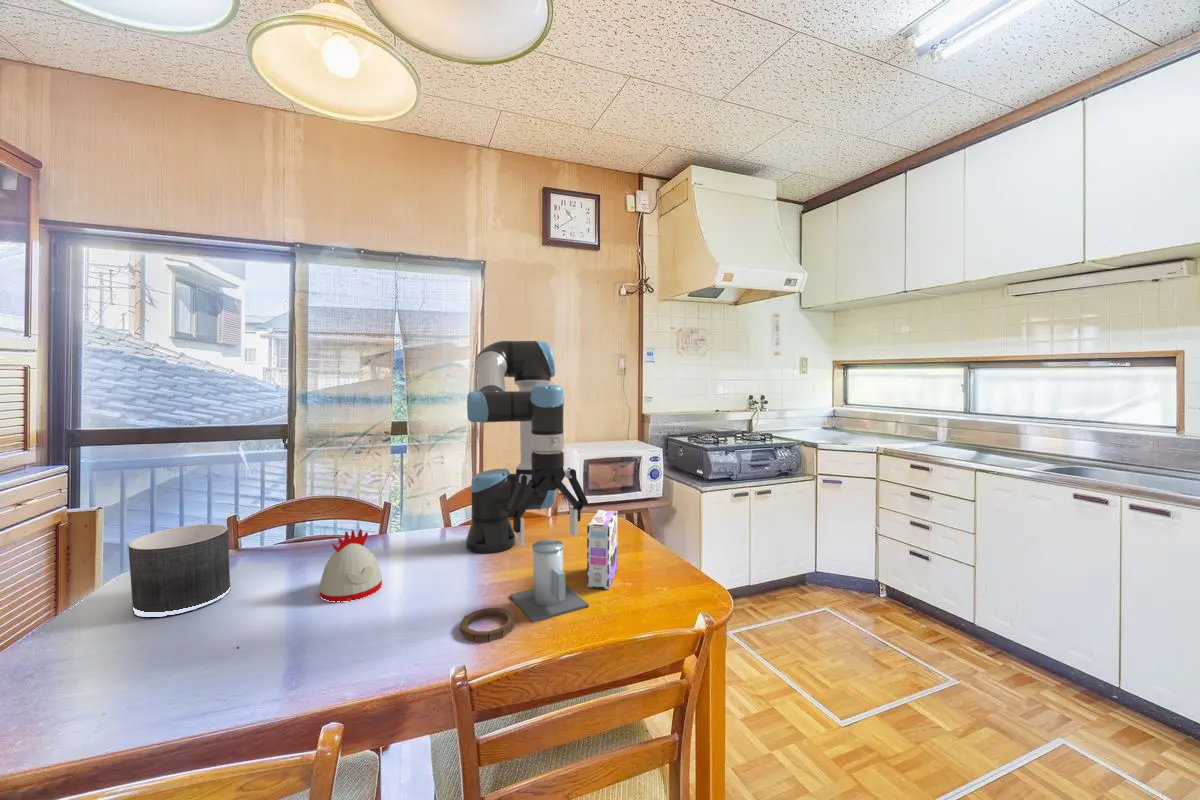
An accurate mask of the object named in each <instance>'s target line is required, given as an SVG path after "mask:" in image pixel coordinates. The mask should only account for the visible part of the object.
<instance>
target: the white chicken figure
mask: <svg viewBox="0 0 1200 800" xmlns="http://www.w3.org/2000/svg"><path fill="white" fill-rule="evenodd" d="M368 535H369V533H368V532H367V531H366V532H365V534H364V535H363V530H362V529H361V528H360V529H359V530H358V533H357V537H356V534H355V531H354V530H353V529H351V534H350V535H349V533H348V532H347V531H345V532H344V539H342V538H341V537H338V541H339V546H337V545H336V544H334V543H332V544H331V545H332V546H333V549H334V550H335V551H334V552H333V554H332V555H331V556H330V557H329V559H328V560H327V562H326V564H325V566H324V569H323V572H322V576H321V577H320V581H319V583H320V584H319V597H320V596H321V597H322V598H323V599H326V600H329V601H335V602H337V601H340V603H342V602H341V601H349V602H352V601H351V600H355V601H357V600H356V599H358V600H361V599H360V598H362V599H364V598H363V597H365V598H367V597H369V596H368V595H370V596H371V594H372V595H374V594H375V593H377V592H378V591H379V590H380V589H381V588H382V586H381V585H383V579H382V578H383V577H382V573H381V570H380V567H379V565H378V562H377V559H376V555H375V554H374V553H373V552H371V551H370V550H369V549H368V548H367V547H366V546H364V545H365V543H366V540H367V538H368ZM376 591H377V592H376ZM373 593H374V594H373ZM366 596H367V597H366Z"/></svg>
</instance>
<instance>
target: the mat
mask: <svg viewBox="0 0 1200 800" xmlns="http://www.w3.org/2000/svg"><path fill="white" fill-rule="evenodd" d="M509 595H510V596H509V597H510V599H512V601H513V602H514V603H515V604H516V605H517V606H518V607H519V609H520V610H521V611H522V612H523V613H524V615H525V616H526V617H527V618H528V619H529V620H530V621H531V623H535V622H539V621H542V620H546V619H550V618H553V617H557V616H560V615H564V614H567V613H571V612H575V611H579V610H582V609H585V608H589V605H590V604H589V603H588V602H587V601H586V600H584V599H583V598H582V597H581V596H580V595H579V594H577V593H576V592H575V591H574V590H573V589H572V588H570V587H569V586H568V585H567V584H566V583H565V600H563V601H562V602H561V603H559V604H556V605H552V606H541V605H538V604H536V603H535V602H534V588H530V589H526V590H523V591H519V592H515V593H510V594H509Z"/></svg>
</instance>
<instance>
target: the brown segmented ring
mask: <svg viewBox="0 0 1200 800" xmlns="http://www.w3.org/2000/svg"><path fill="white" fill-rule="evenodd" d="M485 618H498V619H502V620H505V621H506V623H505V624H504V625H502V626H499V628H495V629H491V630H486V631H485V630H482V631H481V630H479V631H478V630H475V629H472V628H470V627H469V625H470V624H472V623H473V622H475V621H477V620H480V619H481V620H482V619H485ZM515 624H516V623H515V615H513V613H512V611H510V610H507V609H504V608H502V607H485V608H481V609H476V610H473V611H472V612H470V613H468V614H466V615H465V616H464V617H463V618H462V620H461V621H460V622H459V631H460V634H461V636H462V637H463V638H464V639H467V640H469V641H471V642H475V643H476V642H477V643H479V642H480V643H481V642H482V643H483V642H484V643H485V642H486V643H487V642H492V641H496V640H499V639H503V638H504V637H506V636H507V635H509V634H511V632H513V630H514V626H515Z"/></svg>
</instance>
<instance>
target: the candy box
mask: <svg viewBox="0 0 1200 800" xmlns="http://www.w3.org/2000/svg"><path fill="white" fill-rule="evenodd" d="M586 525H587V527H586V528H587V529H586V532H587V536H586V544H587V545H586V550H587V551H586V553H587V554H586V564H587V565H586V567H587V568H586V570H587V571H586V584H587V585H586V587H587V588H591V589H592V588H593V589H602V590H609V589H610V588H611V585H612V582H613V581H614V578H615V575H616V572H617V570H618V569H619V568H618V564H619V563H618V560H619V559H618V557H619V556H618V553H619V552H618V547H619V546H618V539H619V538H618V537H619V536H618V510H607V509H606V510H603V509H598V510H596V513H595V514H594V515H593V516H592V518H591V519H590V521H589V522H588V523H587V524H586Z"/></svg>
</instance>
